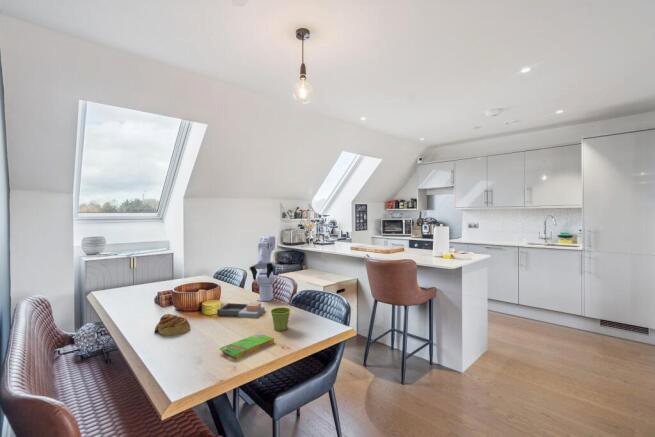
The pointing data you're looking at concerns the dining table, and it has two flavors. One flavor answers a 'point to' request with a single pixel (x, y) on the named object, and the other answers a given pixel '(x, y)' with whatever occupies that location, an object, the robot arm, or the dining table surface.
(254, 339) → the game box
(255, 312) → the slate plate
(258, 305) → the block
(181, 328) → the pastry
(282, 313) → the plant pot
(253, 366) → the dining table surface
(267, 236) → the robot arm
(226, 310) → the box
